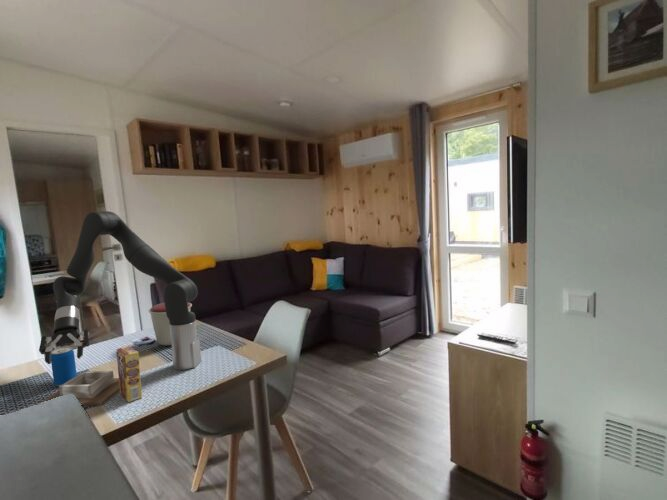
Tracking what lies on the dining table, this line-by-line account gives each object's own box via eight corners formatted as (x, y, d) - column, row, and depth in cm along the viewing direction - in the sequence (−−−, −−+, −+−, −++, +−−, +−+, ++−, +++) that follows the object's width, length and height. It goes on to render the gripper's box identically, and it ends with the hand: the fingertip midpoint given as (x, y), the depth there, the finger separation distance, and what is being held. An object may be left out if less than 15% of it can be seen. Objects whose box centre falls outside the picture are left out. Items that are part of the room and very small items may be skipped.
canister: (156, 338, 164) (152, 295, 162) (196, 332, 169) (192, 291, 167) (147, 351, 147) (143, 304, 144) (192, 345, 152) (188, 299, 150)
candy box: (143, 397, 108) (138, 351, 107) (128, 403, 105) (123, 356, 104) (134, 388, 114) (129, 345, 113) (119, 393, 111) (115, 349, 110)
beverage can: (74, 376, 125) (70, 345, 124) (79, 381, 121) (75, 349, 120) (52, 383, 120) (48, 351, 119) (56, 389, 116) (52, 355, 115)
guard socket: (133, 380, 120) (131, 366, 120) (101, 405, 104) (99, 390, 104) (78, 381, 121) (76, 368, 120) (38, 407, 105) (36, 391, 104)
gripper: (40, 319, 124) (35, 360, 115) (87, 312, 130) (86, 351, 121) (46, 329, 129) (41, 369, 120) (91, 322, 135) (90, 360, 127)
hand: (64, 360), depth 121 cm, fingers open, 8 cm apart
